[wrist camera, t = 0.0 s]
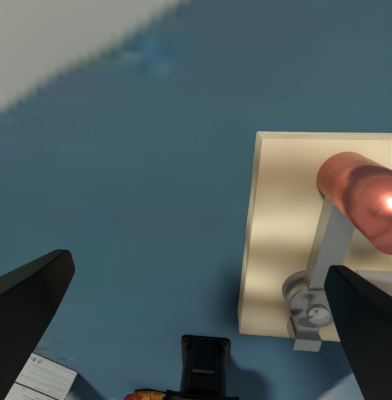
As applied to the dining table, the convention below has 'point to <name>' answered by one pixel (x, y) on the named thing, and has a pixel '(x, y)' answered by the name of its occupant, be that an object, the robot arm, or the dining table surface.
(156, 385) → the dining table surface
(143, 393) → the croissant
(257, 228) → the block
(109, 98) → the dining table surface
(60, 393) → the supplement box
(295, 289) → the lever
